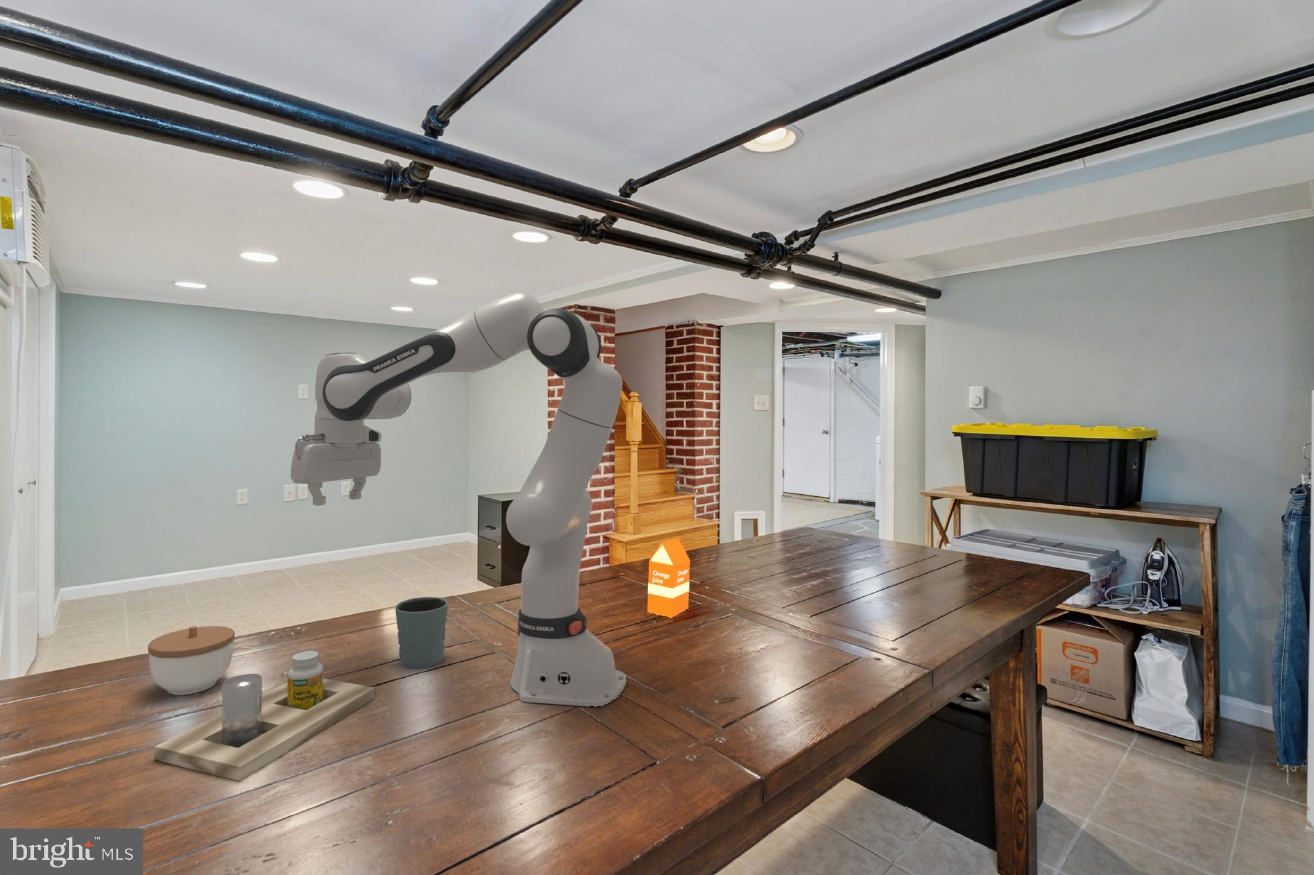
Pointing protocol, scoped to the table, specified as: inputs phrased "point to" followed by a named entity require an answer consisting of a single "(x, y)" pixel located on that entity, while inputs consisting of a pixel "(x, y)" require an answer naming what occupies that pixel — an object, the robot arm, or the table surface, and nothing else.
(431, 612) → the blue-grey cup
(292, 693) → the supplement bottle
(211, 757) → the pin board
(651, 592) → the orange juice
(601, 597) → the table surface
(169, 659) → the lidded bowl
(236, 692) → the steel pin
